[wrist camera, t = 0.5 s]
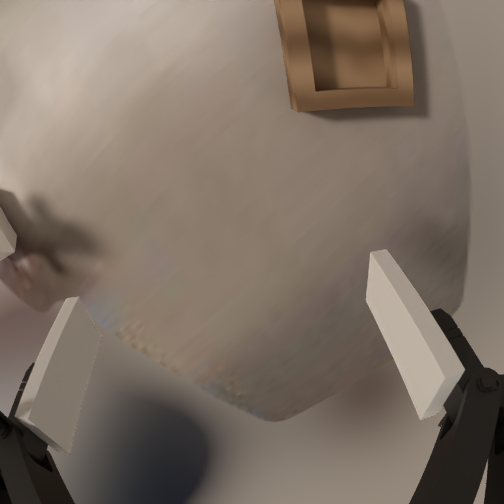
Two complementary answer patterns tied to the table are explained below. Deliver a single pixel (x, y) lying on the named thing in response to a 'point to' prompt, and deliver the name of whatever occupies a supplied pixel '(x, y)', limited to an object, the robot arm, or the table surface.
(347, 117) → the table surface
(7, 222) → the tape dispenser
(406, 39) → the walnut crate
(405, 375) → the robot arm
